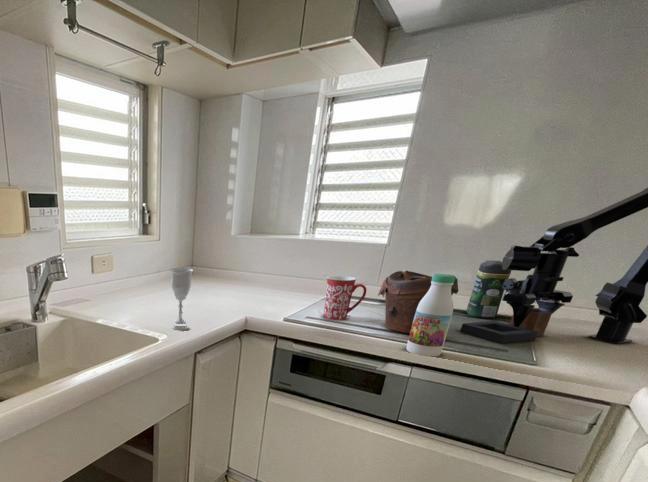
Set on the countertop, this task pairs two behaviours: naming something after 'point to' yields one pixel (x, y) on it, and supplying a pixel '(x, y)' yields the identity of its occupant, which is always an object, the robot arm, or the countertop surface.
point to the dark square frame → (498, 331)
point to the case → (405, 297)
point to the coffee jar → (487, 290)
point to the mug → (340, 296)
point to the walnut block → (535, 321)
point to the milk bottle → (432, 318)
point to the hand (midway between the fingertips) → (526, 325)
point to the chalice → (181, 290)
